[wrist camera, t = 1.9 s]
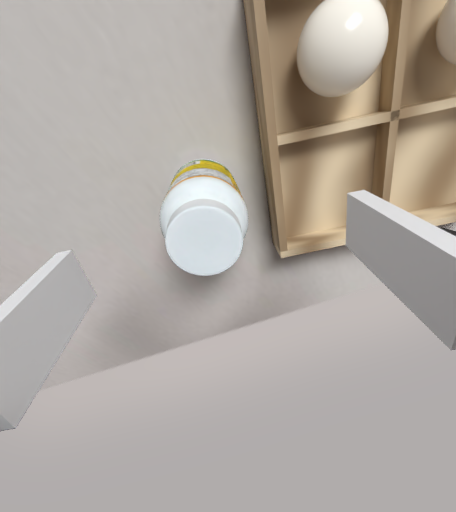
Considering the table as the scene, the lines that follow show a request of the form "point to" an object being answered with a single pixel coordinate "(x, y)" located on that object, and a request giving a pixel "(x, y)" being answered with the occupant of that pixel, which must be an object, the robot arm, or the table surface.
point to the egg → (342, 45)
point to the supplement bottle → (203, 218)
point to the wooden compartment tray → (352, 126)
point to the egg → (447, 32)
